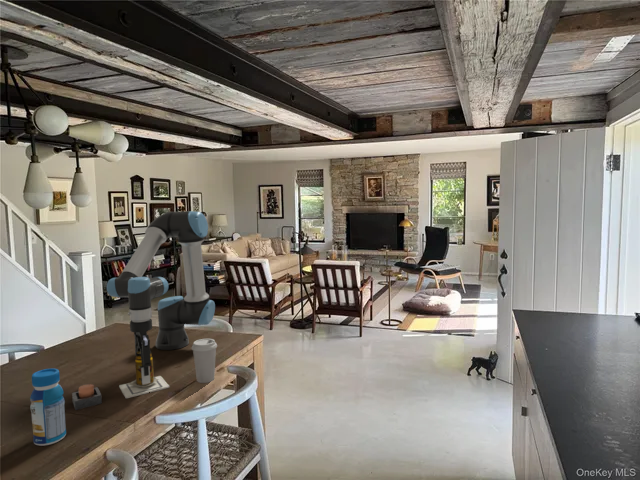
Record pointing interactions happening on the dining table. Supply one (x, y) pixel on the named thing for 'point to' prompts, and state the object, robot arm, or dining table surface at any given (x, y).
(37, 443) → the beverage bottle
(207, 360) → the coffee cup
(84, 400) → the button box
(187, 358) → the dining table surface
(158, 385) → the white rectangular plate
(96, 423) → the dining table surface
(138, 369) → the condiment
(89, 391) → the button
